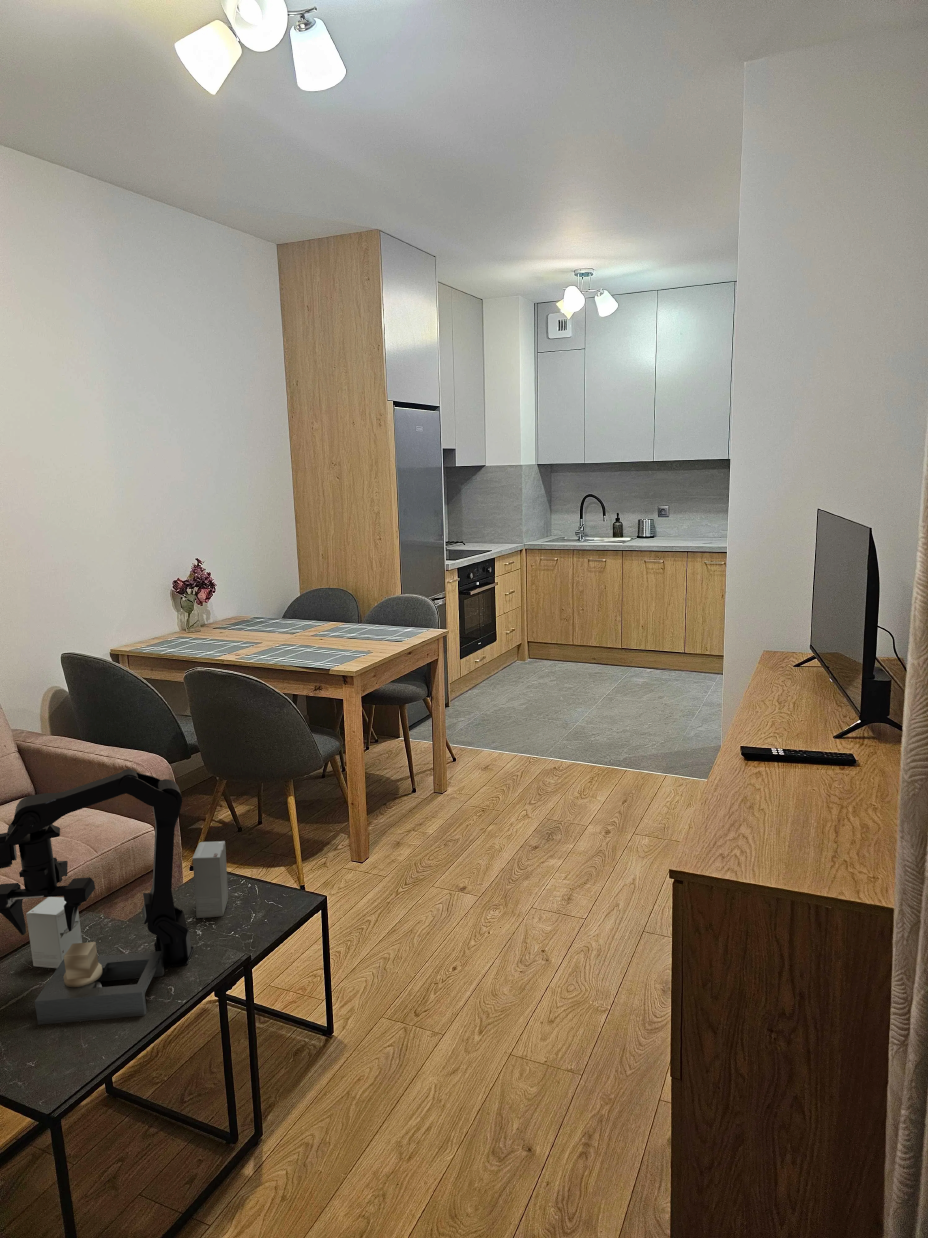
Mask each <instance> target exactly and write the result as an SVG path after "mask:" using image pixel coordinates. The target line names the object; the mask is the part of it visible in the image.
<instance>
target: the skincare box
mask: <svg viewBox="0 0 928 1238" xmlns="http://www.w3.org/2000/svg"><path fill="white" fill-rule="evenodd" d="M226 849H227V848H226V841H225V840H221V841H201V842H198V845H197V847H196V849H195V851H194V854H193V855H192V866H193V867H192V868H193V869H192V870H193V883H194V886H193V887H194V896H195V897H194V898H195V899H194V900H195V902H194V903H195V915H196V919H200V918H201V919H203V918H204V919H205V918H215V917H216V918H217V917H224V914H225V911H226V907H227V903H228V900H229V890H228V870H227V869H228V867H227V854H226V853H227V851H226Z"/></svg>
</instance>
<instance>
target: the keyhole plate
mask: <svg viewBox="0 0 928 1238" xmlns="http://www.w3.org/2000/svg"><path fill="white" fill-rule="evenodd" d="M97 957H98V963H100V964H101V965H102V971H103V972H102V975H101V977H100V978H99V979H97V980H96V981H97V982H100V983H101V982H110V981H111V982H112V981H122V980H131V979H132V980H133V979H134V980H135V979H138V982H137V983H135V984H134V983H133V984H124V985H123V984H122V985H113V986H102V987H99V988H96V983H91V984H88V985H85V986H82V987H69V986H66V985H65V983H64V974H65V973H66V970H65V962H64V959H63V961H62V962H61V963H60V965H59V966H58V968H55V971H54V973H53V974H52V975H51V977H50V978H49V980H48V981H47V983H46V984H45V986H44V987H43V988H42V990H41V992H40V993H39V994H38V996H36V999H35V1000H34V1007H35V1015H36V1020H37V1025H38V1026H39V1025H40V1026H41V1025H53V1024H62V1023H76V1022H86V1021H96V1020H107V1019H108V1020H109V1019H118V1018H119V1019H121V1018H130V1017H141V1016H142V1017H143V1016H144V1017H145V1016H146V1014H147V1011H148V1009H147V1004H146V1003H147V1002H146V996H145V995H146V991H147V989H148V987H149V985H150V983H151V981H152V980H153V978H157V977H163V976H164V975H165V967H164V964H163V955H162V951H155V950H154V951H144V952H134V953H133V952H132V953H122V954H121V953H120V954H109V955H108V954H107V955H97Z"/></svg>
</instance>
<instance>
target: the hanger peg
mask: <svg viewBox="0 0 928 1238" xmlns="http://www.w3.org/2000/svg"><path fill="white" fill-rule="evenodd" d="M97 956H98V951H97V943H96V941H89V942H82V943H76V944H72V945H71V947H70V948H69V950H68V951H67V953H66V954H65V955H64V962H65V970H66V973H65V974H64V983H65V985H66V986H69V987H82V986H85V985H88V984H91V983H96V988H99V987H103V986H102V983H101V981H100V982H97V981H96V980H97V979H99V978H100V977H101V975H102V972H103V971H102V965H101V964H100V963H98V957H97Z"/></svg>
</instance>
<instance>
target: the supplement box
mask: <svg viewBox="0 0 928 1238" xmlns="http://www.w3.org/2000/svg"><path fill="white" fill-rule="evenodd" d="M65 904H66V901H64V896H56V897H45V899H43V900H42V901H41V902H40V903H38V904H37V905H35V906H34V907H33V908H32V909H30V910H29V911H28V912H26V913H25V916H26V924H27V930H28V935H29V943H30V944H29V945H30V949H31V950H30V952H31V958H32V964H33V965H32V966H33V967H38V968H48V969H49V968H50V969H57V968H58V966H59V965H60V963H61V962H62V961H63V959H64V955H65V954H66V953H67V951H68V950H69V948H70V947H71V945H72V944H76V943H83V938H82V930H81V923H80V913H79V909H78V910H77V914H76V918H75V922H74V926H73V929H72V931H69V930H68V927H67V922H66V916H65V911H64V905H65Z"/></svg>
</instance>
